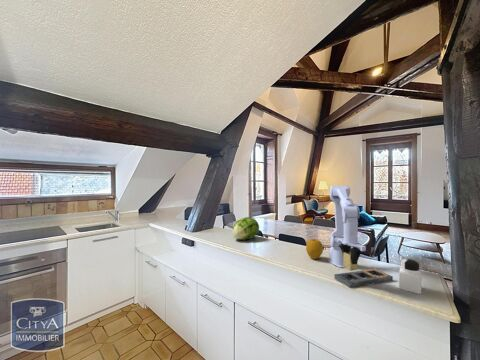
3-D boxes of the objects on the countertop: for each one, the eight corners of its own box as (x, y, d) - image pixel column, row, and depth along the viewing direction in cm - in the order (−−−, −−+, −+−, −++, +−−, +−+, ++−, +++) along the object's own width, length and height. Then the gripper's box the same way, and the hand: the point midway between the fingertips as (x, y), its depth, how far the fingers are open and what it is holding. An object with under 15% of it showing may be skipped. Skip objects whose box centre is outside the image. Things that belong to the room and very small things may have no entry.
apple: (324, 262, 118) (324, 241, 119) (307, 260, 120) (307, 240, 121) (321, 256, 128) (321, 237, 128) (305, 255, 130) (305, 236, 130)
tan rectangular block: (343, 267, 96) (343, 252, 96) (350, 266, 97) (350, 251, 97) (350, 270, 92) (350, 255, 92) (357, 269, 93) (357, 254, 94)
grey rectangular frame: (334, 278, 98) (334, 273, 98) (375, 272, 105) (375, 268, 105) (349, 287, 89) (349, 282, 89) (392, 280, 96) (392, 275, 96)
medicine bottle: (421, 288, 89) (420, 260, 90) (420, 294, 84) (420, 265, 84) (400, 283, 94) (400, 256, 94) (398, 288, 89) (398, 260, 89)
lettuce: (223, 229, 166) (236, 218, 155) (241, 220, 184) (254, 210, 173) (235, 249, 161) (249, 239, 150) (252, 238, 179) (266, 229, 168)
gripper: (332, 229, 101) (332, 257, 101) (356, 236, 87) (356, 269, 87) (343, 228, 103) (343, 256, 103) (369, 235, 89) (369, 267, 89)
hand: (350, 262), depth 95 cm, fingers closed on tan rectangular block, 4 cm apart
